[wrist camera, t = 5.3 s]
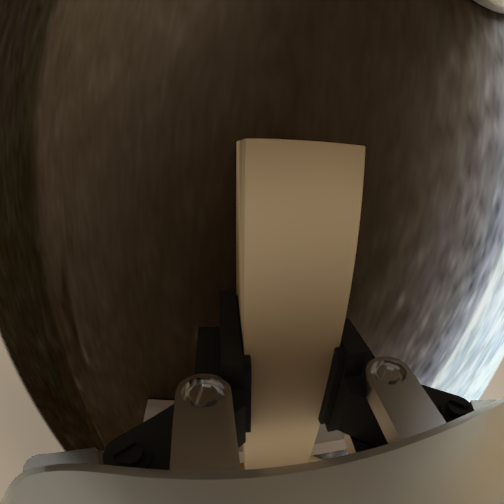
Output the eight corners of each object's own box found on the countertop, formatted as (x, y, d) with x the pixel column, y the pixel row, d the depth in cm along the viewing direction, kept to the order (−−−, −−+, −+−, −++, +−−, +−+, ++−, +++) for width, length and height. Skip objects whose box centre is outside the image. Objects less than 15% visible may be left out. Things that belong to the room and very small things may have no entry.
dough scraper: (106, 148, 9) (41, 156, 5) (417, 156, 10) (494, 170, 6) (152, 411, 13) (140, 477, 9) (366, 397, 14) (394, 453, 10)
